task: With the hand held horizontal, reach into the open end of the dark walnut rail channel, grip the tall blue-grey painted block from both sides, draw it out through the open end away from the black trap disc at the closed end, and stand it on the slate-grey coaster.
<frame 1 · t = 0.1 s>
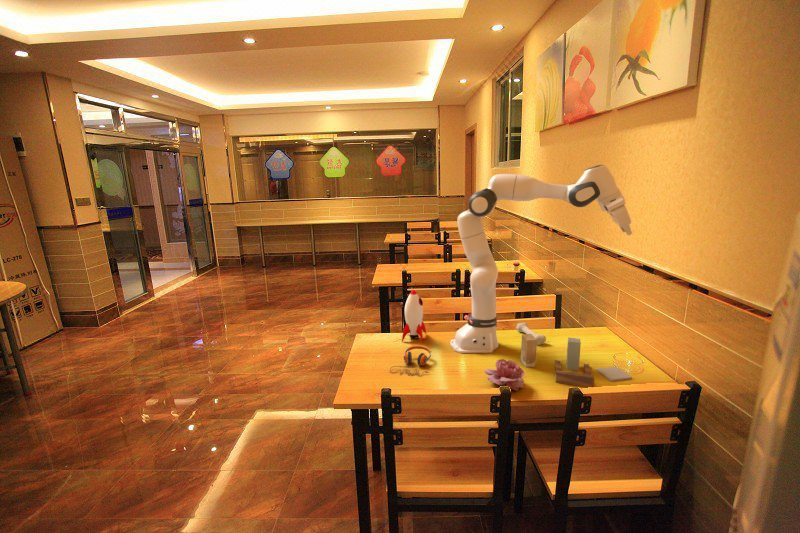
hand: (627, 232, 161), 54 cm above the table, tool tilted 30°, fingers open, 8 cm apart
block: (572, 367, 166), on the table
channel: (572, 367, 166), on the table
headphones: (414, 366, 171), on the table
coaster: (613, 374, 159), on the table
dog toy: (530, 338, 198), on the table
flower: (504, 386, 153), on the table
rocket: (414, 338, 200), on the table
skincare box: (527, 364, 170), on the table
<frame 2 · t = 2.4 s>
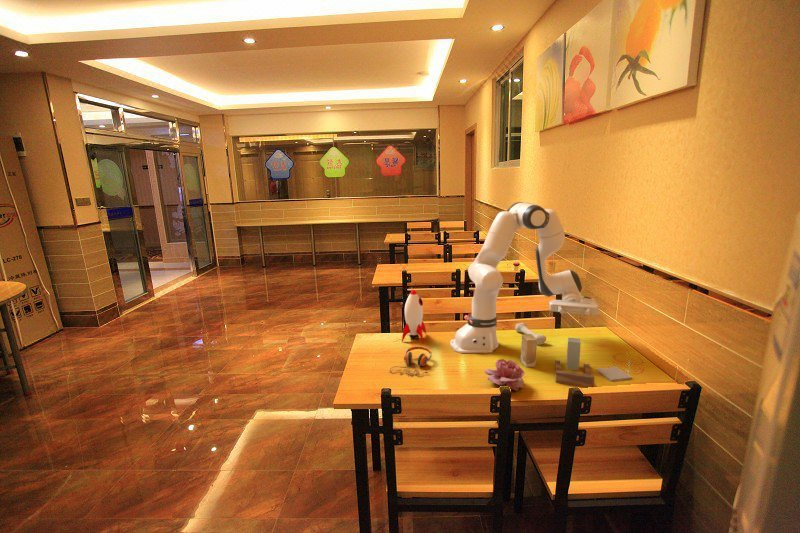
hand: (574, 312, 173), 20 cm above the table, tool horizontal, fingers open, 8 cm apart
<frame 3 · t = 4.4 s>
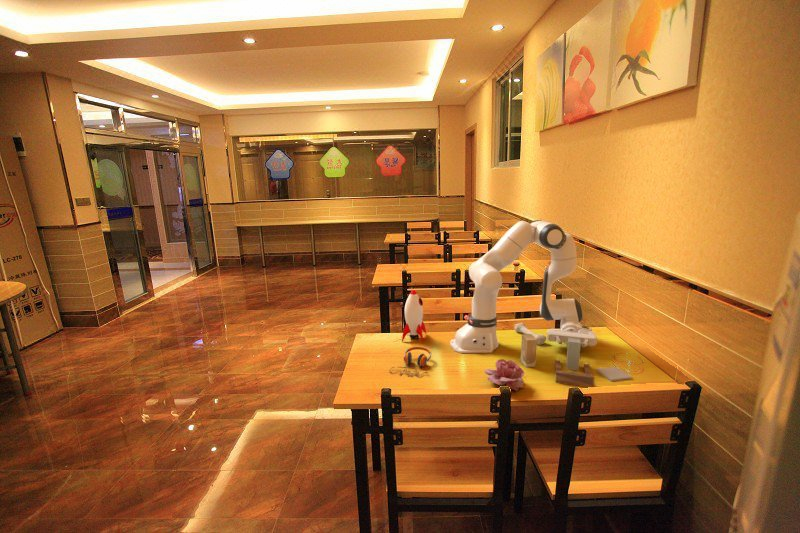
hand: (572, 344, 173), 6 cm above the table, tool horizontal, fingers open, 8 cm apart
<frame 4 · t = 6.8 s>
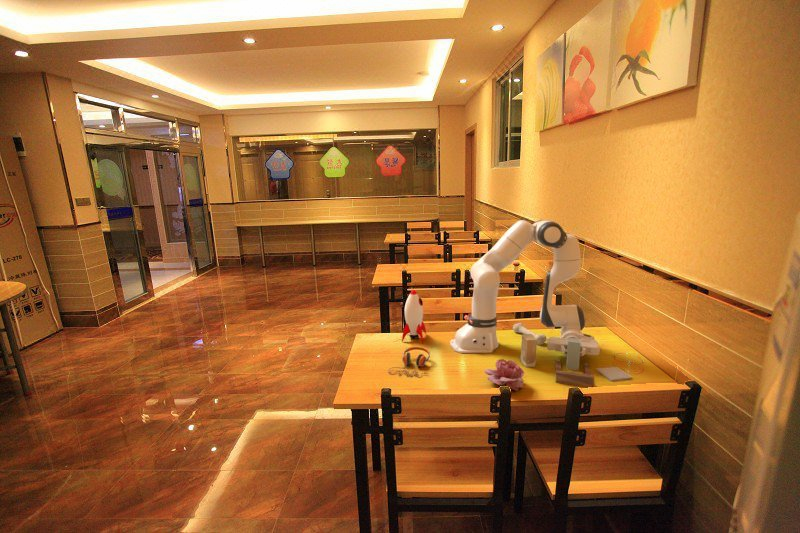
hand: (573, 353, 164), 7 cm above the table, tool horizontal, fingers closed on block, 4 cm apart
block: (572, 367, 166), on the table, touching gripper
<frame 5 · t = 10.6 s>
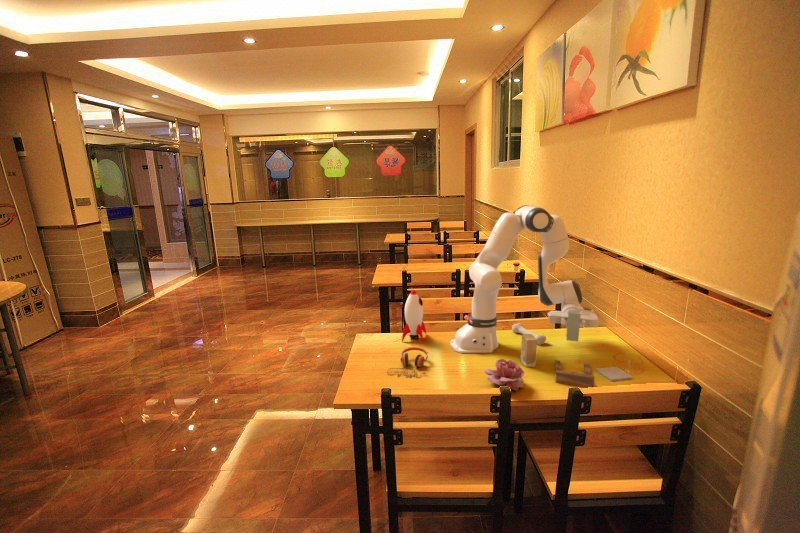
hand: (573, 325, 169), 16 cm above the table, tool horizontal, fingers closed on block, 4 cm apart
block: (572, 338, 171), point 9 cm above the table, touching gripper
when the fingers open (7 cm above the table, at t = 14.7 s): block stays where it is, resting on coaster.
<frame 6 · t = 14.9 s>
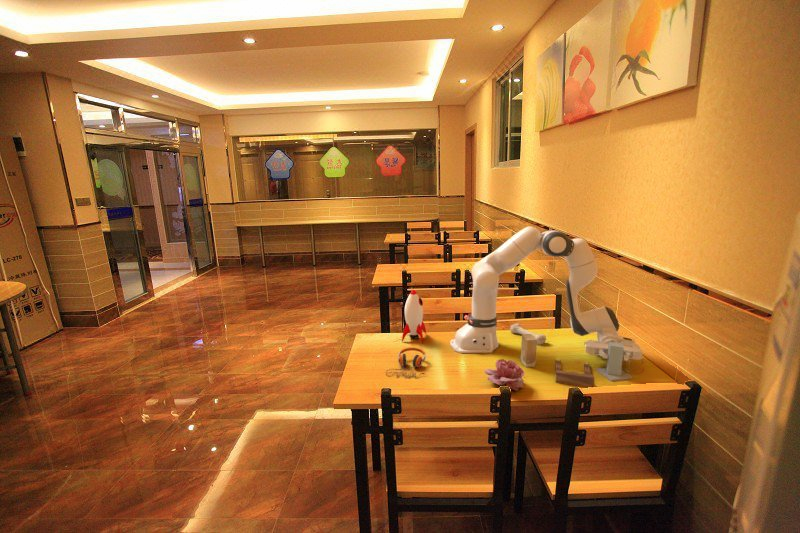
hand: (615, 358, 157), 7 cm above the table, tool horizontal, fingers open, 6 cm apart
block: (613, 372, 159), point 1 cm above the table, touching coaster
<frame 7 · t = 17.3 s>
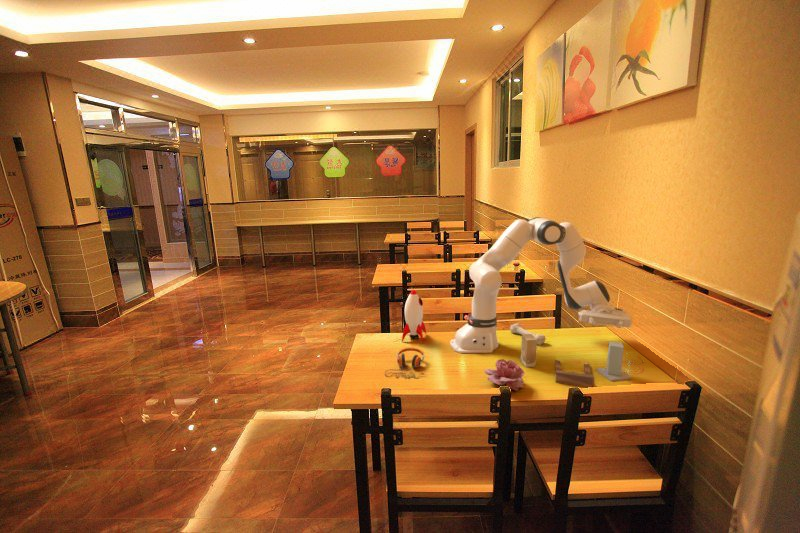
hand: (606, 324, 169), 16 cm above the table, tool horizontal, fingers open, 8 cm apart
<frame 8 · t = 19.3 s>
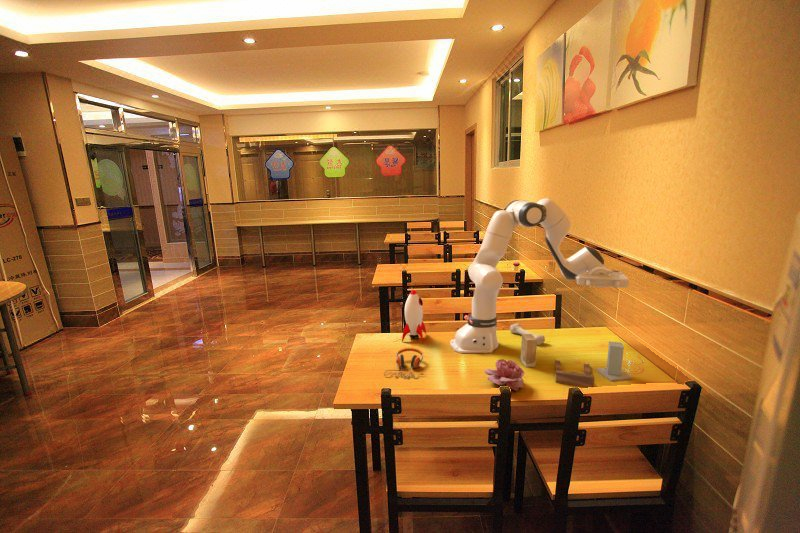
hand: (603, 285, 169), 32 cm above the table, tool horizontal, fingers open, 8 cm apart
at the end: block 0.0 cm from the coaster (horizontally); block tilted 0°; the gripper is holding nothing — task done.
